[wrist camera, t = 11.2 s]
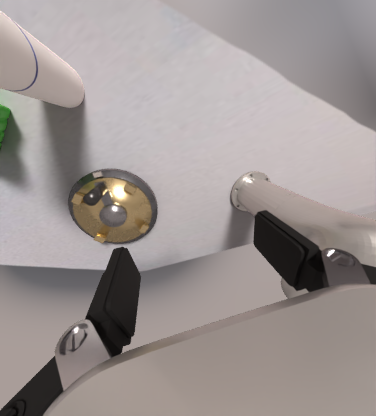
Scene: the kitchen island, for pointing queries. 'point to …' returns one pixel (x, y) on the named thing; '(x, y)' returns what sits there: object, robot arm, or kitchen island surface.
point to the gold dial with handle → (112, 209)
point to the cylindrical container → (35, 68)
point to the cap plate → (122, 175)
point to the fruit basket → (3, 120)
